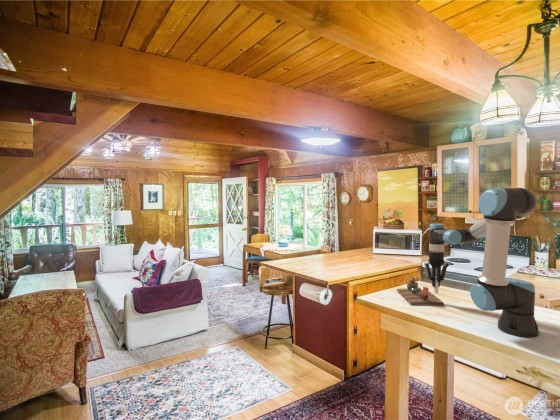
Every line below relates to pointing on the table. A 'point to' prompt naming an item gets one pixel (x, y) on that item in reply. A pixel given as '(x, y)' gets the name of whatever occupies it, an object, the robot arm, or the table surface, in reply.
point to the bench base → (414, 298)
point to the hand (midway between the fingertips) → (435, 292)
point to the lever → (420, 291)
